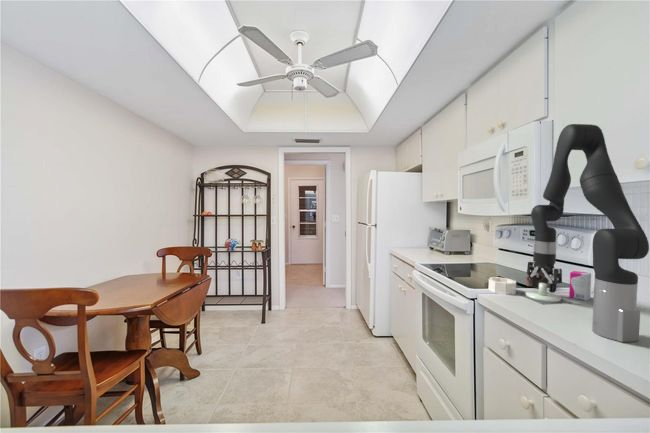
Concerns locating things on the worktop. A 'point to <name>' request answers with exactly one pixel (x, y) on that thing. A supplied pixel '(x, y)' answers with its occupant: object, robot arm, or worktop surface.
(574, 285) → the supplement box
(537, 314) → the worktop surface
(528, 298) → the mat
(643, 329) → the worktop surface
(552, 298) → the lid
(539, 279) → the pottery mug
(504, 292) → the bowl
